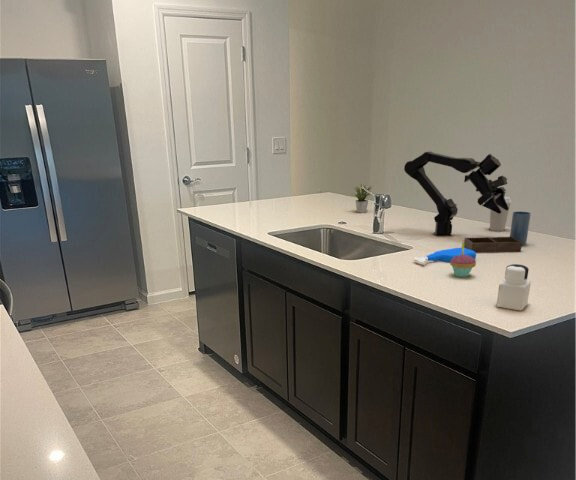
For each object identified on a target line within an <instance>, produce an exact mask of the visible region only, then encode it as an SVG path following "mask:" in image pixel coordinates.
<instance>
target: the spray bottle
mask: <svg viewBox="0 0 576 480" xmlns="http://www.w3.org/2000/svg"><path fill="white" fill-rule="evenodd" d="M457 255H462V247H453V248H447V249H441V250H437V251H434V252H433V253H430V254H428V255H425V256H421V257H420V256H419V257H415V256H414V257H413V262H415V263H417V264H419V265H423V266H425V265H426V264H428V263H434V262H437V261H440V262H445V263H450V262H451V259H452V258H454V257H455V256H457ZM464 255H467V256H470V257H472V258H473V259H474V260H476V258H477V253H475V251H472V250H469V249H466V248H465V247H464Z"/></svg>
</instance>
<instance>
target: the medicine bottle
mask: <svg viewBox="0 0 576 480" xmlns="http://www.w3.org/2000/svg"><path fill="white" fill-rule="evenodd" d="M529 271H530V270H529V267H527V266H526V265H524V264H517V263H515V264H509V265H507V266H506V267H505V273H504V279H503V280H502V281H501V282H500V283H499V284H498V292H497V300H496V308H503V309H510V310H515V311H523V310H524V308H525V307H526V306H527V305H528V303H529V295H530V291H531V285H532V284H531V282H532V281H531V280H528V276H529Z"/></svg>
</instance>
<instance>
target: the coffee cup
mask: <svg viewBox="0 0 576 480" xmlns="http://www.w3.org/2000/svg"><path fill="white" fill-rule="evenodd" d="M504 198H505V201H506V203H507V206H508V208H509V209H508V210H505V209H503V208H502V207H500V206H498V207H499V208H500V210H501V213H500V214H499V213H497V212H494V211H492V210H490V209H489V210H490V212H489V213H490V214H489V230H490V231H492V232H504V231H505V230H506V225H507V221H508V216H509V211H510V207H511V204H512V203H513V201H512V199H511V197H510V196H506V195H505V197H504Z"/></svg>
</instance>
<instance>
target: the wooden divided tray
mask: <svg viewBox="0 0 576 480" xmlns="http://www.w3.org/2000/svg"><path fill="white" fill-rule="evenodd" d="M463 240H464V248H466V249H469V250H472V251H475V253H476V254H477V253H478V254H479V253H481V254H482V253H515V252H516V253H518V252H519V253H520V252H522V242H521V241H519V240H517V239H515V238H513V237H510V236H485V237H484V236H483V237H464V238H463Z"/></svg>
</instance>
